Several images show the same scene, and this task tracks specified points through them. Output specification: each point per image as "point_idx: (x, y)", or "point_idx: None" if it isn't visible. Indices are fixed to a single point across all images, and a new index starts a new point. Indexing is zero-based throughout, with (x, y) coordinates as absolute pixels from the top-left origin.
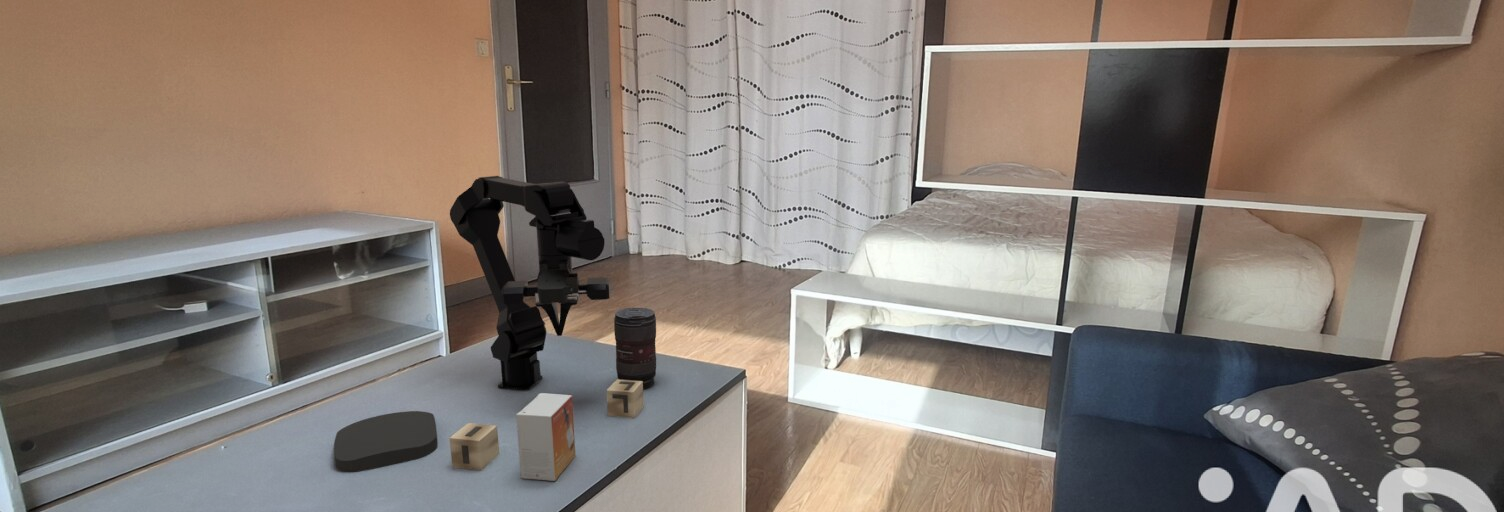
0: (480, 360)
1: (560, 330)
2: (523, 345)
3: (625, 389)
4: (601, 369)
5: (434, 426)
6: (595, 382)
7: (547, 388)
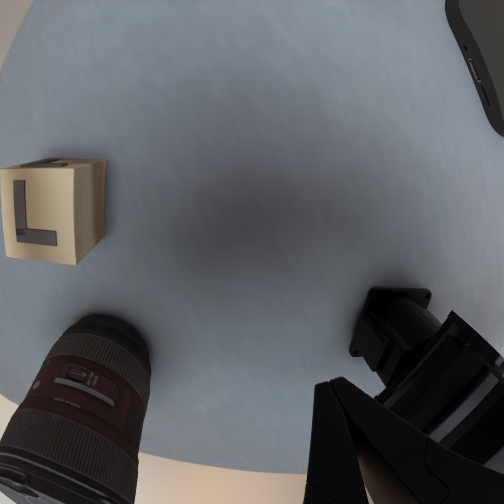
0: None
1: (331, 405)
2: (442, 356)
3: (20, 180)
4: (225, 406)
5: (482, 52)
6: (213, 351)
7: (327, 307)
